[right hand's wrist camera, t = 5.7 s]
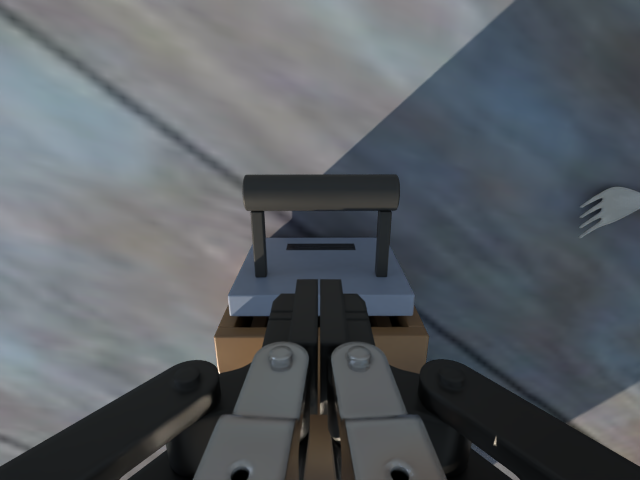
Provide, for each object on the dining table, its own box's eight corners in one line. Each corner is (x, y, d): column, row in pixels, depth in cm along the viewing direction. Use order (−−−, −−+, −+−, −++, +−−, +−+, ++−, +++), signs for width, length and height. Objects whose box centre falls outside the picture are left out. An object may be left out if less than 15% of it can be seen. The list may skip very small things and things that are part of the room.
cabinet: (250, 254, 26) (212, 336, 17) (390, 254, 26) (430, 335, 17) (265, 453, 33) (244, 588, 24) (376, 453, 33) (398, 588, 24)
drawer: (250, 158, 23) (215, 184, 15) (391, 157, 23) (426, 183, 15) (269, 439, 31) (253, 545, 24) (372, 438, 31) (389, 545, 24)
